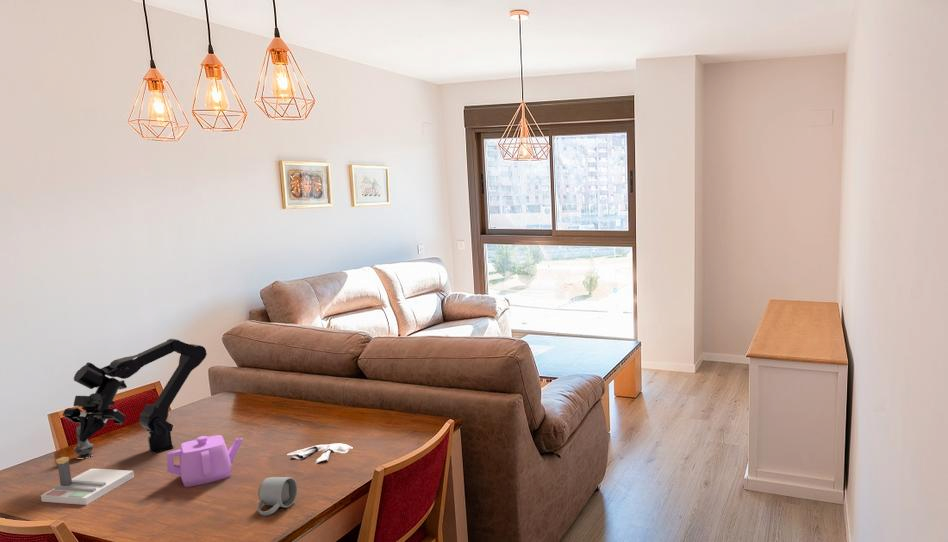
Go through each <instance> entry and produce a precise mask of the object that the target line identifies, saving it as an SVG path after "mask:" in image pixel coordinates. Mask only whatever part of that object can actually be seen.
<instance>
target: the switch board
mask: <svg viewBox="0 0 948 542" xmlns="http://www.w3.org/2000/svg"><path fill="white" fill-rule="evenodd" d="M134 478H135V472H134V470H123V469H109V468H107V469H106V468H89V469H88V470H86V471H84V472H82V473H79V474H78V475H76V476H75V477H71V480H72V484H71V485H69V486H61V484H59V485H58V484H57V485H54V487H53V488H52V489H49V490H48V491H46V492H44V493H43V494H40V498H41V502H43V503H45V502H46V503H56V504H69V505H70V504H71V505H83V506H85V505H86V506H87V505H89V504H91V503H93V502H94V501H96V500H97V499H99V498H101V497H102V496H104V495H106V494H108V493H109V492H111V491H113V490H115V489H116V488H118V487H119V486H122V484H125V483H126V482H128V481H129V480H131V479H134Z"/></svg>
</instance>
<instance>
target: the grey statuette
mask: <svg viewBox="0 0 948 542" xmlns="http://www.w3.org/2000/svg"><path fill="white" fill-rule="evenodd" d="M80 430H81V423H79V425H77V426H76V428H75V431H76V436H75V438H77V445H76V446H75V447H74V448H73V451H74V452H75V453H76V454H77V456H76V457H77V458H86V457H89V456H91V455H92V454H94V453H93V452H92V451H93V448H94V443H92V442H89V438H88V439H87V440H86V441H85V442H80V441H79V440H80Z"/></svg>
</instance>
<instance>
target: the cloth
mask: <svg viewBox="0 0 948 542" xmlns="http://www.w3.org/2000/svg"><path fill="white" fill-rule="evenodd" d="M350 450H353V446H351V445H349V444H345V443H341V442H339V443H338V442H337V443H330V444H317V445H313V446H310V447H305V448H303V449H298V450H295V451H292V452H289V453H287V454H286V455H287V456H291V457H289V460H292V459H296V460H304V459H306V458H308V457H309V456H310V455H312V454H314V453H316V452H321V451H324V453H322V454H321V456H320V457H318V458H317V459H316V460H315V462H314V464H315V465H317V464H319V463H329V461H330V460H329V459H330V456H331V453H332V452H333V453H338V454H346V453H348V452H349V451H350ZM293 455H294V456H293Z"/></svg>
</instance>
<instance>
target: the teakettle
mask: <svg viewBox="0 0 948 542" xmlns="http://www.w3.org/2000/svg"><path fill="white" fill-rule="evenodd" d="M242 442H243V438H242V437H239V438H238V437H236V438H235V440H234V441H233V442H232V445H231V446H230V447H229V449H228V448H227V445H226V442H225V439H224V437H223V436H222V435H221V434H217V435H212V436H208V435H202V436H198V437H196V439H193V440H188V441H184V442H182V443H181V444H180V448H179V449H175V450H172V451H167V452H166V471H167V473H170V474H172V475H173V474H174V475H177V476H180V477H181V478H180V479H181V481H182V484H183V486H184V487H185V488H190V487H191V488H192V487H195V486H196V487H197V486H200V485H204V484H209V483H213V482H217V481H219V480H223V479H227V478H229V477H231V474H232V464H233V462H234V460H235V457H236V455H237V453H238V451H239V449H240V448H241V445H242ZM174 457H179V465H177V464H174V463H175V462H174Z"/></svg>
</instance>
